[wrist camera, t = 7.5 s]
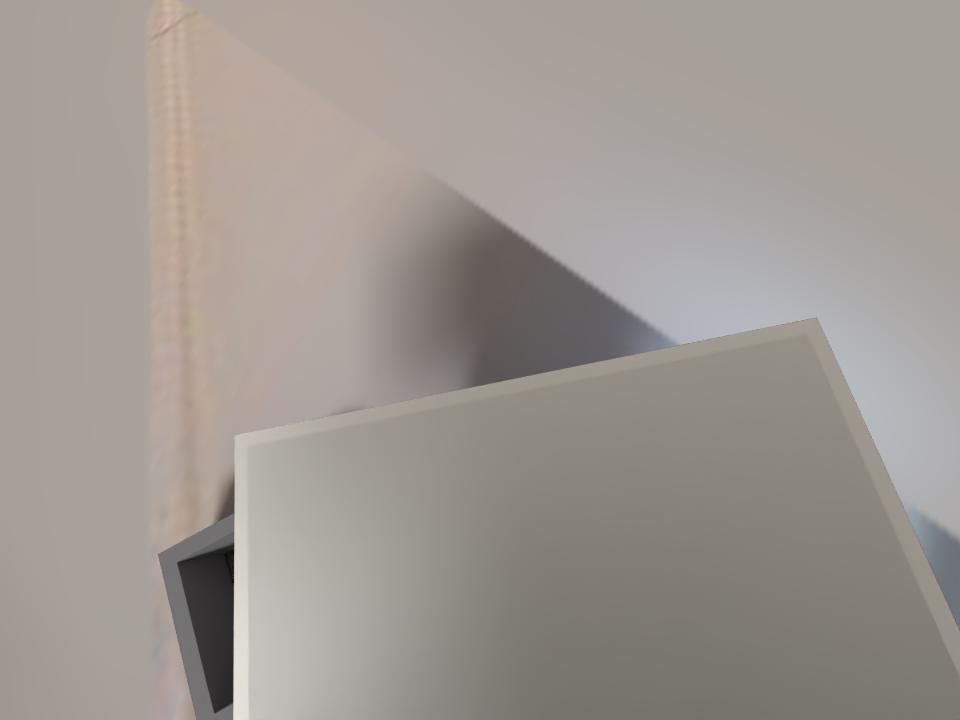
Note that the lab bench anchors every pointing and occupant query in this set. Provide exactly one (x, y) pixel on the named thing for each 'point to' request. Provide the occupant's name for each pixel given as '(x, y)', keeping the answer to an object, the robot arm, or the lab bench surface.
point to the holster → (204, 615)
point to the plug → (591, 551)
